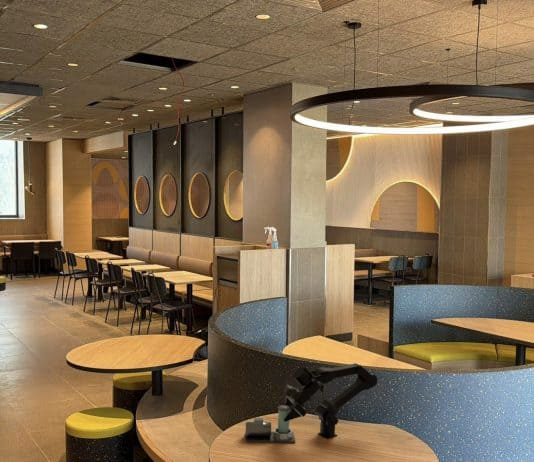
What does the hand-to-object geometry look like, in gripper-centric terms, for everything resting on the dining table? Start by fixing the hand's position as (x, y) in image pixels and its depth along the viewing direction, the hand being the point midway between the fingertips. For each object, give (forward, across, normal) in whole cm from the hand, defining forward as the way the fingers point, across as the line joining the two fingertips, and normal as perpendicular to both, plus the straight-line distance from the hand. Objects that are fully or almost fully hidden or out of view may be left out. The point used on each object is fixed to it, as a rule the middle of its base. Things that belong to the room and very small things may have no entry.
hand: (282, 417), depth 262 cm
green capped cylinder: (+6, 0, +7) cm, 9 cm away
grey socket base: (+10, -1, +3) cm, 11 cm away
